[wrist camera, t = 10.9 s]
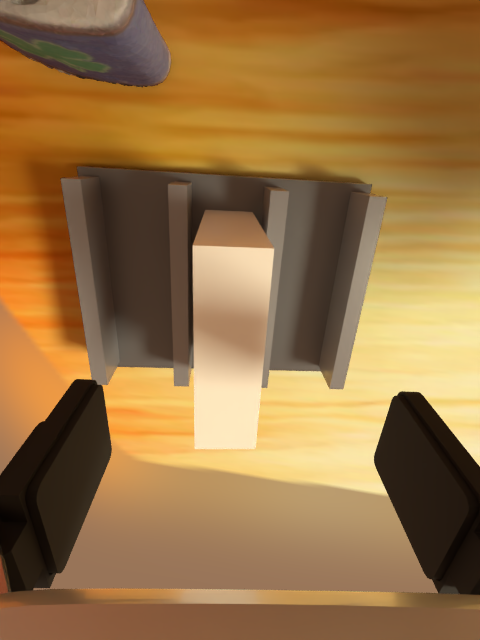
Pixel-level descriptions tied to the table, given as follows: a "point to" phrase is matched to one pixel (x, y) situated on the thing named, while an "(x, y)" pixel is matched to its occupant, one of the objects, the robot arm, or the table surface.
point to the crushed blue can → (88, 38)
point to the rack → (177, 265)
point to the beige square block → (229, 327)
